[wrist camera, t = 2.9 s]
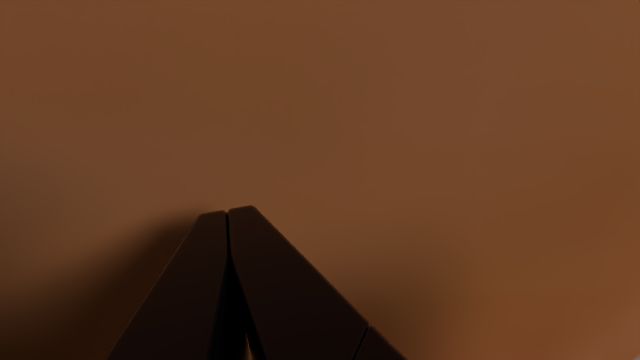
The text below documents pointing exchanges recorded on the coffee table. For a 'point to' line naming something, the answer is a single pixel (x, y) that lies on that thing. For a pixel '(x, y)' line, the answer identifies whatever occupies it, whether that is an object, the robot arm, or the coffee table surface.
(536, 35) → the coffee table surface
